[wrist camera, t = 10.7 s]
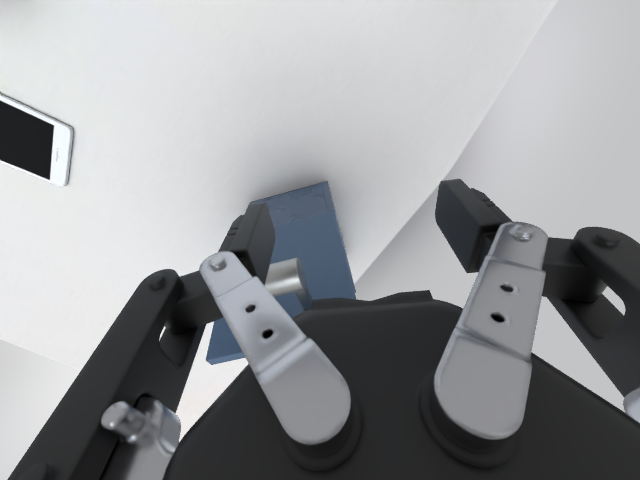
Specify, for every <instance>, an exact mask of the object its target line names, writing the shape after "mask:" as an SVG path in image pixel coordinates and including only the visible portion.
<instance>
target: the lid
mask: <svg viewBox="0 0 640 480" xmlns="http://www.w3.org/2000/svg"><path fill="white" fill-rule="evenodd" d="M274 229H275V236H276V240H275V245H274V249H273V253H272V257H271V262H270V266H269V270H268V274H267V278H266V283H265V287H266V288H267V289H268V291H269V292H270V293H271V294H272V295H273V297H274V298H275V299H276V300H277V302H278V303H279V304H280V305H281V306H282V308H283V309H284V310H285V311H286V313H287V314H288V315H289V316H290V317H291V319H292V318H293V317H294V316H296V315H298V314H300V313H302V312H304V311H306V310H309V309H312V300H316V299H328V298H348V299H356V297H355V292H354V288H353V284H352V280H351V276H350V272H349V268H348V264H347V259H346V255H345V251H344V247H343V243H342V239H341V235H340V231H339V227H338V222H337V218H336V214H335V211H331V212H327V213H323V214H319V215H315V216H312V217H308V218H304V219H300V220H296V221H293V222H289V223H285V224H281V225H278V226H274ZM241 358H245V355H244V354H243V352H242V350H241V348H240V346H239V344H238V342H237V341H236V339H235V337H234V335H233V333H232V331H231V329H230V328H229V326H228V324H227V322H226V320H225V318H221V319H219V320H216V321H214V325H213V330H212V334H211V339H210V343H209V348H208V352H207V356H206V361H207V362H209V363H210V364H211V365H213V364H218V363H222V362H227V361H231V360H236V359H241Z"/></svg>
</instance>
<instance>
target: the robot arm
mask: <svg viewBox="0 0 640 480" xmlns="http://www.w3.org/2000/svg"><path fill="white" fill-rule="evenodd" d="M435 218H436V222H437V225H438V226H439V228H440V229H441V231H442V233H443V234H444V236H445V238H446V239H447V241H448V243H449V244H450V246H451V248H452V249H453V251H454V252H455V254H456V256H457V258H458V259H459V261H460V262H461V264H462V266H463V267H464V269H465V271H466V272H467V273H474V272H479V273H478V276H477V278H476V280H475V283H474V285H473V287H472V290H471V292H470V295H469V297H468V299H467V301H466V304H465V306H464V308H463V309H462V308H461V307H458V306H456V305H453V304H451V303H448V302H444V301H440V300H435V299H433V298H432V296H431V293H430V291H429V290H427V291H413V292H401V293H397V294H394V295H390V296H387V297H383V298H380V299H377V300H373V301H363V300H356V299H348V298H328V299H316V300H312V309H309V310H306V311H304V312H302V313H300V314H298V315H296V316H294V317H293V318H292V319H291V317H290V316H289V315H288V314H287V313H286V311H285V310H284V309H283V308H282V306H281V305H280V304H279V303H278V302H277V300H276V299H275V298H274V297H273V295H272V294H271V293H270V292H269V291H268V289H267V288H266V287H265V283H266V278H267V274H268V270H269V266H270V262H271V257H272V253H273V249H274V245H275V240H276V236H275V229H274V226H273V223H272V219H271V216H270V213H269V209H268V206H267V204H266V203H265V202H264V203H255V204H249V206H248V208H247V210H246V213H245V215H240V216H239V217H238V218H237V219H236V220H235V221H234V222H233V223H232V225H231V227H230V230H229V231H228V233H227V236H226V237H225V239H224V241H223V243H222V245H221V247H220V249H219V251H218V253H215V254H213V255H211V256H209V257H208V258H206V259H205V260H204V261H203V262H202V264H201V265H200V268H199V271H196V272H194V273H190V274H187V275H184V276H181V277H179V276H178V274H177V273H176V271H174V270H172V269H164V270H160V271H157V272H155V273H153V274H151V275H150V276H148V277H147V278H145V279H144V280H143V281H142V282H141V283H140V285H139V286H138V288H137V289H136V290H135V292H134V293H133V295H132V296H131V298H130V299H129V301H128V302H127V304H126V305H125V307H124V308H123V310H122V311H121V313H120V314H119V316H118V317H117V319H116V320H115V321H114V323H113V324H112V326H111V327H110V329H109V330H108V332H107V333H106V335H105V336H104V338H103V339H102V341H101V342H100V344H99V345H98V347H97V348H96V350H95V351H94V353H93V354H92V355H91V357H90V358H89V360H88V361H87V363H86V364H85V366H84V367H83V369H82V370H81V372H80V373H79V375H78V376H77V378H76V379H75V381H74V382H73V384H72V385H71V387H70V388H69V389H68V391H67V393H66V394H65V396H64V397H63V398H62V400H61V401H60V403H59V404H58V406H57V407H56V409H55V410H54V412H53V413H52V415H51V416H50V418H49V419H48V421H47V422H46V424H45V425H44V427H43V428H42V429H41V431H40V432H39V434H38V435H37V437H36V438H35V440H34V441H33V443H32V444H31V446H30V447H29V449H28V450H27V452H26V453H25V455H24V456H23V457H22V459H21V460H20V462H19V463H18V465H17V466H16V468H15V469H14V471H13V472H12V474H11V475H10V477H9V478H8V480H640V244H639V243H638V242H636V241H635V240H633V239H632V238H631V237H629V236H627V235H625V234H623V233H621V232H618V231H615V230H612V229H607V228H602V227H586V228H582V229H580V230H579V231H578V232H577V234H576V235H575V237H574V239H561V238H549V237H548V236H547V234H546V233H545V232H544V231H543V230H542V229H541V228H539V227H537V226H534V225H531V224H528V223H524V222H513V221H512V220H511V219H510V218H509V217H507V216H506V215H505V214H504V213H503V212H502V211H501V210H500V209H499V208H498V207H497V206H495V204H494V203H493V202H492V201H490V199H489V198H488V197H487V196H486V195H485V194H484V193H482V192H480V191H478V190H475V189H474V188H471V189H470V188H469V187H468V186H467V185H466V184H465V183H464V182H463V181H462V180H461V179H453V180H445V181H441V182H440V185H439V190H438V197H437V203H436V210H435ZM607 286H609V287H610V288H611V289H612V290H613V291H614V292H615V293H616V294H617V295H618V296H619V297H620V298H621V299H622V300H623V302H624V304H625V308H626V312H625V315H624V316H623V314H622V313H621V312H619V310H618V309H617V308H615V306H614V305H613V304H611V302H610V301H609V300H608V299H606V297H605V296H604V295H603V294H602V292H603V291H604V290H605V288H606V287H607ZM542 296H544V297H547V298H548V299H549V301H550V302H551V303H552V304H553V306H554V307H555V308H556V310H557V311H558V312H559V314H560V315H561V316H562V317H563V319H564V320H565V321H566V322H567V324H568V325H569V327H570V328H571V329H572V330H573V332H574V333H575V334H576V336H577V337H578V338H579V340H580V341H581V342H582V343H583V345H584V346H585V347H586V349H587V350H588V351H589V353H590V354H591V355H592V356H593V358H594V359H595V360H596V362H597V363H598V364H599V365H600V367H601V368H602V369H603V371H604V372H605V373H606V375H607V376H608V377H609V378H610V380H611V381H612V382H613V384H614V385H615V386H616V387H617V389H618V390H619V391H620V393H621V394H622V395H623V397H624V401H623V406H624V410H625V412H626V413H625V412H623V411H622V410H620V409H618V408H617V407H615V406H613V405H612V404H610V403H609V402H608V401H606V400H605V399H603V398H601V397H600V396H598V395H597V394H595V393H593V392H592V391H591V390H589V389H587V388H586V387H584V386H583V385H581V384H580V383H578V382H577V381H575V380H574V379H572V378H570V377H569V376H567V375H566V374H564V373H563V372H561V371H560V370H558V369H556V368H555V367H553V366H552V365H550V364H549V363H547V362H545V361H544V360H543V359H541V358H539V357H538V356H536V355H535V354H533V353H532V352H531V351H532V345H533V340H534V335H535V329H536V324H537V318H538V313H539V308H540V302H541V297H542ZM221 318H225V320H226V322H227V324H228V326H229V328H230V329H231V331H232V333H233V335H234V337H235V339H236V341H237V342H238V344H239V346H240V348H241V350H242V352H243V354H244V355H245V357H246V359H247V361H248V363H249V364H248V365H247V366H246V367H245V368H244V370H243V371H242V372H241V373H240V374H239V375H238V376H237V377H236V378H235V380H234V381H233V382H232V383H231V384H230V385H229V386H228V387H227V388H226V390H225V391H224V392H223V393H222V394H221V395H220V396H219V397H218V398H217V400H216V401H215V402H214V403H213V404H212V405H211V406H210V407H209V408H208V409H207V411H206V412H205V413H204V414H203V415H202V416H201V417H200V418H199V419H198V421H197V422H196V423H195V424H194V425H193V426H192V427H191V428H190V430H189V431H188V432H187V433H186V434H185V436H184V437H183V439H182V440H181V441H180V443H179V437H180V432H181V422H180V419H179V417H178V416H177V415H176V414H175V413H176V410H177V407H178V405H179V402H180V399H181V396H182V393H183V390H184V387H185V384H186V381H187V378H188V376H189V373H190V370H191V367H192V364H193V361H194V358H195V355H196V352H197V350H198V347H199V344H200V341H201V338H202V335H203V332H204V329H205V326H206V324H207V323H210V322H213V321H216V320H219V319H221ZM164 326H165V327H166V329H165V331H164V333H163V335H162V337H161V339H160V341H159V338H160V334H161V332H162V329H163V327H164Z"/></svg>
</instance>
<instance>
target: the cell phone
mask: <svg viewBox="0 0 640 480" xmlns="http://www.w3.org/2000/svg"><path fill="white" fill-rule="evenodd" d="M72 140H73V129H72V128H71V127H70V126H68V125H66V124H64V123H62V122H60V121H57V120H55V119H53V118H51V117H49V116H47V115H45V114H43V113H40V112H38V111H36V110H34V109H32V108H30V107H28V106H26V105H23V104H21V103H19V102H17V101H15V100H13V99H11V98H9V97H6V96H4V95H2V94H0V163H2V164H5V165H7V166H10V167H12V168H15V169H17V170H20V171H22V172H24V173H27V174H29V175H32V176H34V177H37V178H39V179H42V180H44V181H47V182H49V183H52V184H54V185H57V186H59V187H64V186H66V185H67V183H68V176H69V167H70V158H71V149H72Z"/></svg>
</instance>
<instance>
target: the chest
mask: <svg viewBox="0 0 640 480" xmlns="http://www.w3.org/2000/svg"><path fill="white" fill-rule="evenodd" d="M264 202H265V203H266V204H267V206H268V209H269V213H270V216H271V219H272V223H273V226H278V225H281V224H285V223H289V222H293V221H296V220H300V219H304V218H308V217H312V216H315V215H319V214H323V213H327V212H331V211H335V208H334V204H333V200H332V196H331V192H330V188H329V185H328V181H327V182H323V183H319V184H316V185H312V186H309V187H305V188H301V189H298V190H294V191H290V192H287V193H283V194H279V195H276V196H272V197H269V198H265V199H261V200H258V201H254V202H250V204H255V203H264ZM335 214H336V212H335ZM336 218H337V215H336ZM337 222H338V219H337ZM338 227H339V223H338ZM339 231H340V227H339ZM340 235H341V231H340ZM341 239H342V235H341ZM342 243H343V247H344V251H345V255H346V259H347V264H348V268H349V272H350V276H351V280H352V284H353V288H354V292H355V293H356V291H355V287H354V283H353V279H352V275H351V270H350V266H349V262H348V258H347V254H346V250H345V246H344V242H343V239H342Z"/></svg>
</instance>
